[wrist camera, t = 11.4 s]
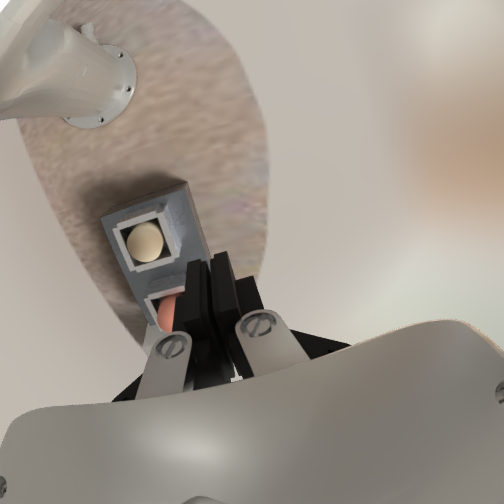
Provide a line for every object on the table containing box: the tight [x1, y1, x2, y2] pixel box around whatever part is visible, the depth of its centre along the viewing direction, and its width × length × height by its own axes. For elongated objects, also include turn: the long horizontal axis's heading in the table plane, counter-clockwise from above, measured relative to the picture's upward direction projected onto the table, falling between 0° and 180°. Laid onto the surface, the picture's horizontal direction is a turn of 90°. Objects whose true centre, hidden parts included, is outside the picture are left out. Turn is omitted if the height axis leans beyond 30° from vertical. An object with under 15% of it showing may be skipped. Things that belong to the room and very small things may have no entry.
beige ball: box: [127, 218, 165, 262], centre depth 33 cm, size 4×4×4 cm
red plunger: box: [157, 292, 184, 333], centre depth 36 cm, size 4×4×4 cm
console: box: [100, 182, 212, 332], centre depth 37 cm, size 18×12×9 cm, turn 13°
